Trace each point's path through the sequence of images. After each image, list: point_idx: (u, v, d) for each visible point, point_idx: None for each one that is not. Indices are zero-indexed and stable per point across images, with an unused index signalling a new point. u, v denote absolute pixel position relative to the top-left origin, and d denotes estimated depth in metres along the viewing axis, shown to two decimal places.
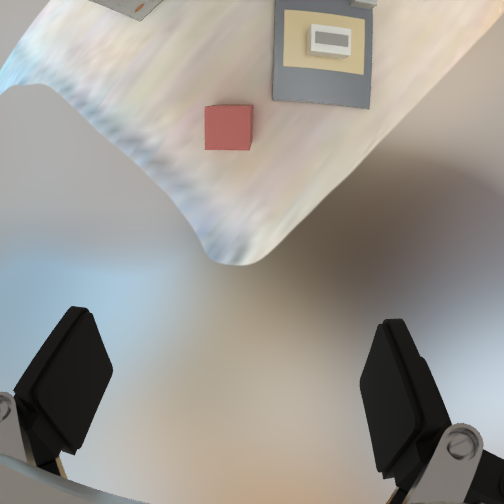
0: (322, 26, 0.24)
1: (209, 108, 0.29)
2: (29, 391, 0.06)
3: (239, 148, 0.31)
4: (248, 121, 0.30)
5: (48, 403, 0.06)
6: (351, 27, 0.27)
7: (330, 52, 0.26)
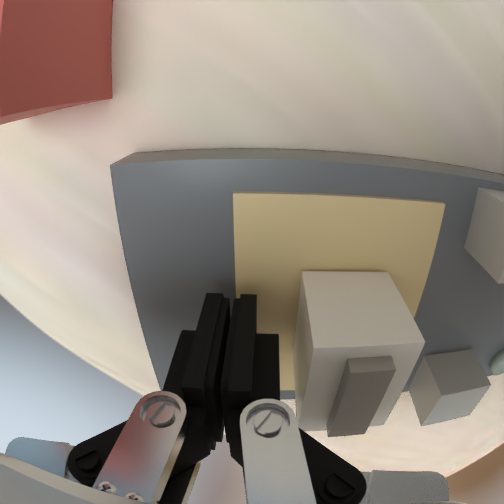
0: (407, 370, 0.08)
1: None
2: (203, 383, 0.07)
3: None
4: None
5: (215, 394, 0.07)
6: None
7: None
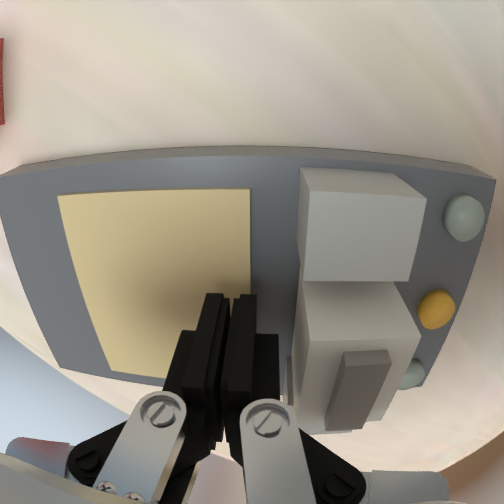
0: (404, 365, 0.08)
1: None
2: (203, 383, 0.07)
3: None
4: None
5: (215, 394, 0.07)
6: None
7: None
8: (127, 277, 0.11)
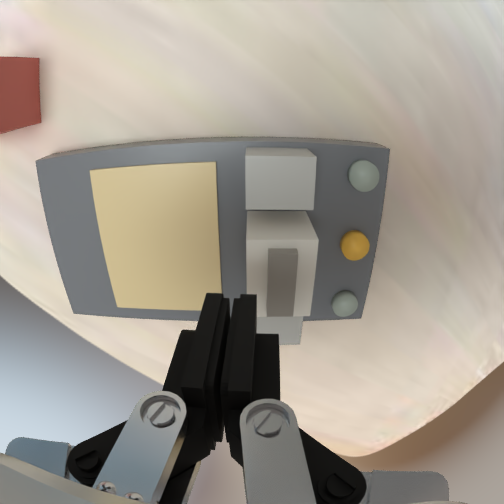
0: (312, 262, 0.14)
1: None
2: (203, 383, 0.07)
3: None
4: None
5: (215, 394, 0.07)
6: (198, 289, 0.19)
7: None
8: (136, 225, 0.17)
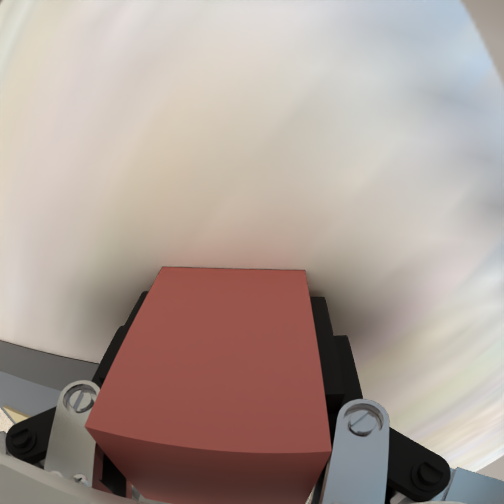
0: None
1: None
2: None
3: (132, 440, 0.05)
4: (134, 483, 0.06)
5: None
6: None
7: None
8: None
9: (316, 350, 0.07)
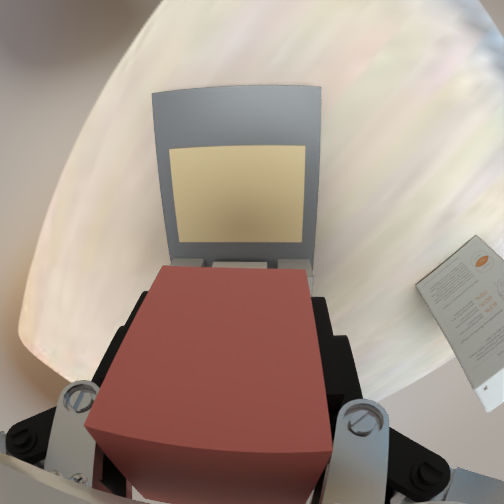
0: None
1: None
2: None
3: (132, 440, 0.05)
4: (134, 482, 0.06)
5: None
6: (197, 225, 0.23)
7: None
8: (254, 180, 0.21)
9: (317, 349, 0.07)
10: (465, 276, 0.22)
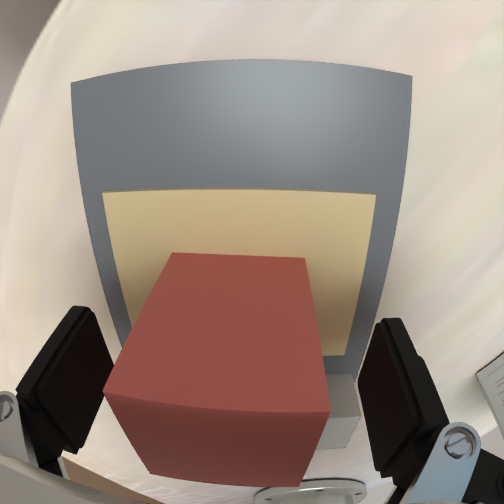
0: None
1: (283, 485, 0.07)
2: (31, 390, 0.06)
3: (148, 403, 0.06)
4: (142, 455, 0.07)
5: (50, 402, 0.06)
6: None
7: None
8: None
9: (315, 325, 0.08)
10: None
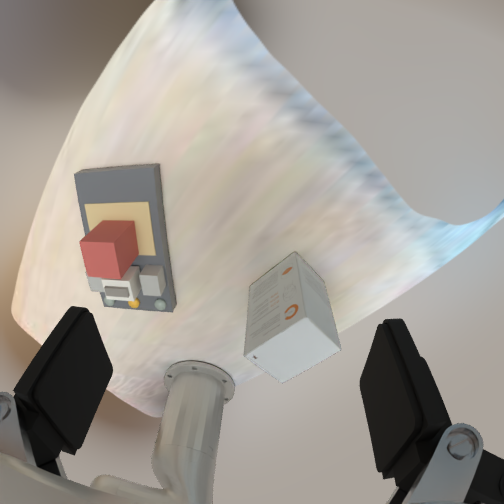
0: (126, 299, 0.37)
1: (117, 277, 0.33)
2: (29, 391, 0.06)
3: (86, 243, 0.31)
4: (85, 265, 0.33)
5: (48, 403, 0.06)
6: None
7: (115, 280, 0.36)
8: None
9: (122, 232, 0.33)
10: (273, 281, 0.38)
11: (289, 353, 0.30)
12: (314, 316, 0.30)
